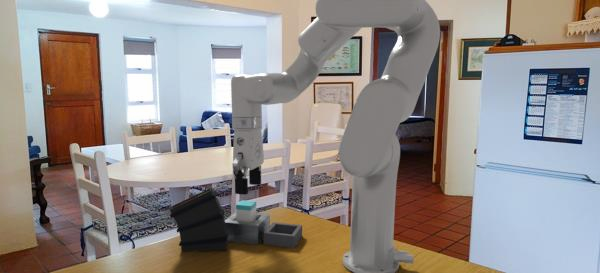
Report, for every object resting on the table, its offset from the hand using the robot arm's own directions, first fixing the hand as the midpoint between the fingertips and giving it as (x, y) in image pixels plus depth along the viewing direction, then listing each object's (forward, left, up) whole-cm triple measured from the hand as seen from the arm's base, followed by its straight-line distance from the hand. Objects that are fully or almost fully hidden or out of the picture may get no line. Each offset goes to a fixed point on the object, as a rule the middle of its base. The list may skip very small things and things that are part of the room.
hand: (248, 189), depth 107 cm
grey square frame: (-9, 0, -13) cm, 16 cm away
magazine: (+9, +11, -13) cm, 19 cm away
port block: (+1, 0, -13) cm, 13 cm away
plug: (+1, 0, -13) cm, 13 cm away
